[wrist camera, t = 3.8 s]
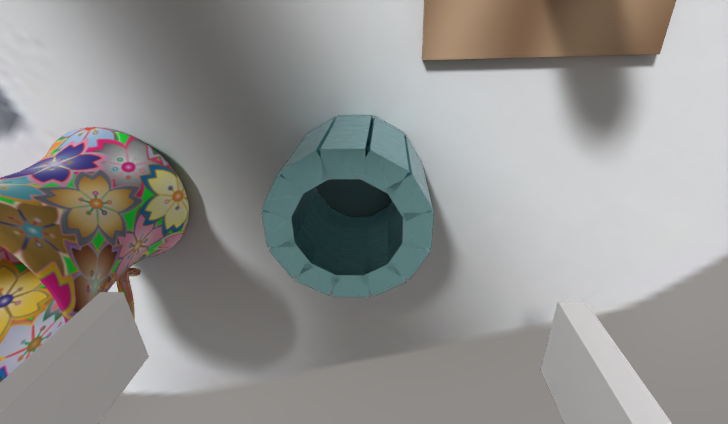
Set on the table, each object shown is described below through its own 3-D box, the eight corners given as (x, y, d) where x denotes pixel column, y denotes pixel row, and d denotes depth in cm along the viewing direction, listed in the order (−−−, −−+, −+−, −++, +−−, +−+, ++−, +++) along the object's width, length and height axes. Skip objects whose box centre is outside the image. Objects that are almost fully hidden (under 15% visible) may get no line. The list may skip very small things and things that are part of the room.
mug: (18, 142, 22) (-259, 232, 13) (150, 94, 20) (-57, 157, 11) (132, 295, 27) (-5, 442, 18) (245, 268, 25) (160, 414, 16)
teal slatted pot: (301, 234, 24) (276, 295, 18) (286, 116, 20) (250, 149, 15) (419, 235, 23) (428, 298, 18) (424, 114, 20) (437, 147, 15)
